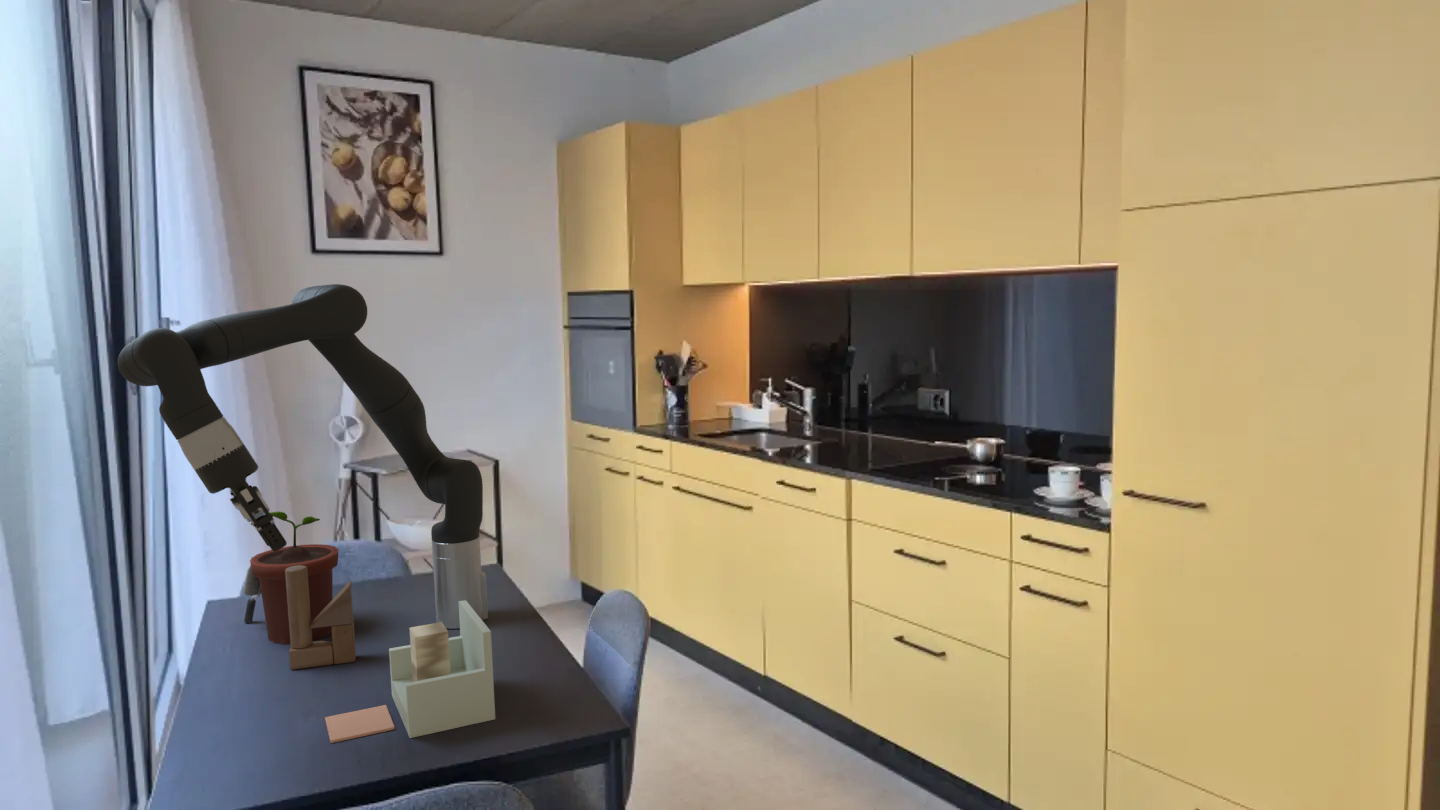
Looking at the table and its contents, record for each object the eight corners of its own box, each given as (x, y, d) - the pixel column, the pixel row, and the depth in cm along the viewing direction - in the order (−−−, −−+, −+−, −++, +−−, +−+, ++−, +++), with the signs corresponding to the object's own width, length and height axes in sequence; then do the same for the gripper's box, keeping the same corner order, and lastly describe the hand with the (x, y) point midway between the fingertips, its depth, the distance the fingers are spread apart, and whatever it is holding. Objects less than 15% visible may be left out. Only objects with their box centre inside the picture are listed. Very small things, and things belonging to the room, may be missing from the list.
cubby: (409, 738, 139) (404, 646, 138) (391, 695, 155) (386, 613, 153) (495, 719, 145) (490, 631, 144) (469, 680, 160) (465, 600, 159)
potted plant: (248, 656, 174) (237, 523, 171) (244, 622, 193) (234, 502, 190) (350, 638, 182) (342, 511, 179) (336, 607, 201) (329, 492, 198)
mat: (330, 743, 138) (330, 740, 138) (325, 719, 146) (325, 717, 146) (394, 729, 142) (394, 726, 142) (386, 707, 150) (385, 704, 150)
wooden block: (355, 662, 170) (348, 564, 168) (290, 671, 166) (282, 571, 164) (356, 655, 173) (349, 559, 171) (292, 663, 170) (285, 566, 168)
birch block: (418, 699, 146) (414, 637, 144) (413, 688, 150) (409, 627, 149) (451, 693, 148) (448, 631, 147) (445, 681, 152) (441, 622, 151)
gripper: (246, 441, 136) (307, 535, 139) (239, 442, 148) (295, 528, 152) (194, 469, 132) (258, 564, 136) (191, 467, 145) (250, 555, 148)
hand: (277, 545), depth 144 cm, fingers open, 8 cm apart
